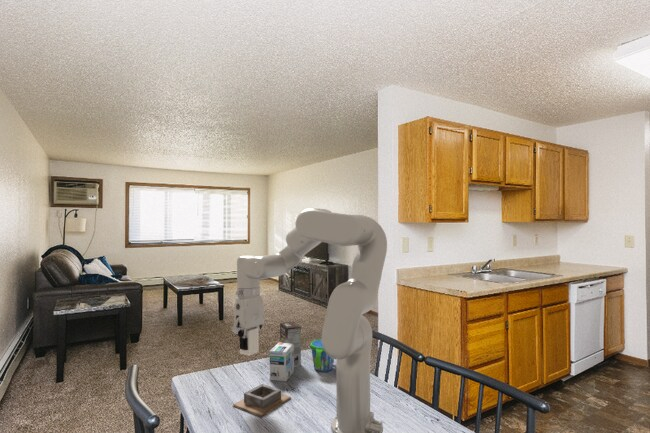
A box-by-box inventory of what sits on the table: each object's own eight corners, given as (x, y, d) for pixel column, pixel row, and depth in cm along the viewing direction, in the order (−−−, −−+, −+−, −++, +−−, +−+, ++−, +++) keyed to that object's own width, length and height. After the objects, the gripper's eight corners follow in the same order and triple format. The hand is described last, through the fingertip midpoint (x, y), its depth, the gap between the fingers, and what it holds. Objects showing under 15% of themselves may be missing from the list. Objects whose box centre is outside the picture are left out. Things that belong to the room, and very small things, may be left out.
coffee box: (279, 360, 154) (279, 322, 154) (293, 358, 156) (293, 320, 157) (286, 368, 145) (286, 328, 146) (301, 365, 148) (301, 326, 148)
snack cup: (328, 378, 136) (328, 350, 136) (303, 374, 140) (303, 347, 140) (342, 363, 150) (342, 338, 151) (318, 360, 154) (318, 336, 154)
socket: (290, 398, 120) (290, 388, 120) (261, 417, 108) (261, 405, 108) (264, 389, 126) (264, 379, 127) (233, 406, 115) (233, 395, 115)
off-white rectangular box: (258, 351, 122) (258, 327, 122) (249, 355, 118) (248, 331, 118) (249, 349, 124) (249, 326, 125) (239, 353, 121) (239, 329, 121)
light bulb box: (286, 381, 133) (286, 352, 133) (268, 380, 134) (268, 350, 135) (294, 370, 143) (294, 342, 144) (278, 369, 145) (278, 341, 145)
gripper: (237, 297, 113) (238, 357, 112) (273, 289, 127) (274, 342, 126) (221, 295, 117) (221, 352, 116) (258, 288, 131) (259, 339, 130)
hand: (249, 346), depth 121 cm, fingers closed on off-white rectangular box, 4 cm apart
